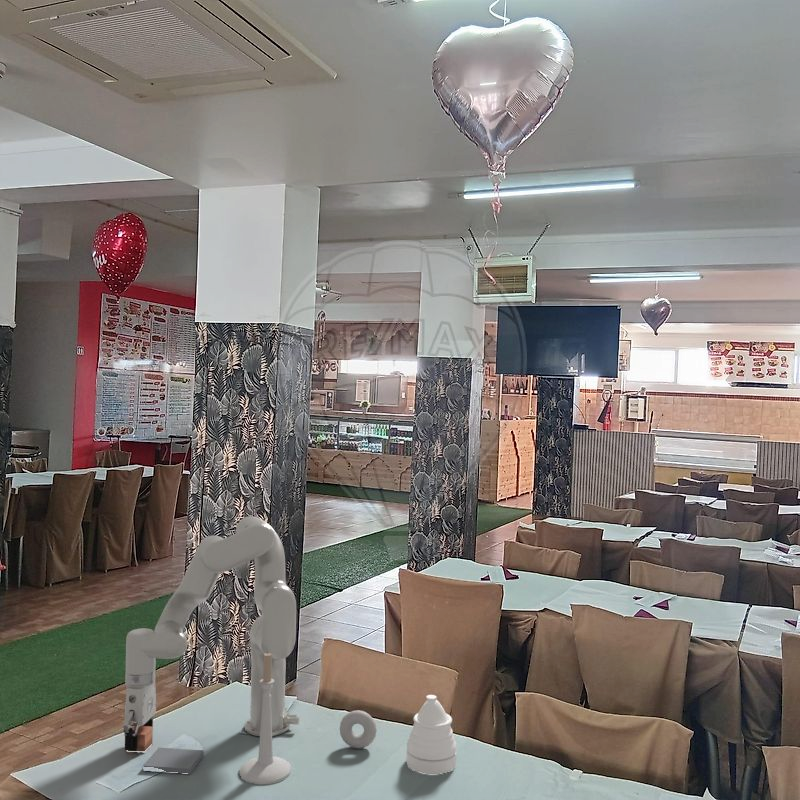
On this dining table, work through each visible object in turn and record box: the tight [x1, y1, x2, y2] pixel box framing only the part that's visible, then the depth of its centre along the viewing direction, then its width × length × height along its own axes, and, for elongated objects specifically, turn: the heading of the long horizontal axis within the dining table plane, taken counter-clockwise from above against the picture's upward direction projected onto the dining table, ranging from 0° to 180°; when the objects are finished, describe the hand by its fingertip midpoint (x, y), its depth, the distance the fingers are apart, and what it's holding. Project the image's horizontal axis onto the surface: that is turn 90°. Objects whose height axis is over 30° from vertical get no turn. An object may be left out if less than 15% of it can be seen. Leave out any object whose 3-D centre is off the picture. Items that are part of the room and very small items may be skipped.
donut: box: [339, 709, 377, 749], centre depth 212 cm, size 10×4×10 cm, turn 82°
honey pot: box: [405, 694, 457, 774], centre depth 204 cm, size 13×13×18 cm
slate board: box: [142, 747, 204, 775], centre depth 201 cm, size 12×10×2 cm
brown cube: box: [131, 725, 154, 751], centre depth 209 cm, size 5×5×5 cm
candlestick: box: [238, 652, 292, 785], centre depth 198 cm, size 13×13×30 cm
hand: (138, 741), depth 209 cm, fingers open, 9 cm apart
